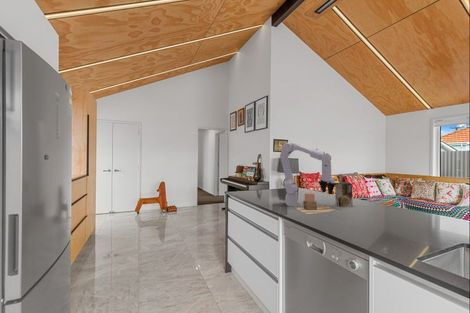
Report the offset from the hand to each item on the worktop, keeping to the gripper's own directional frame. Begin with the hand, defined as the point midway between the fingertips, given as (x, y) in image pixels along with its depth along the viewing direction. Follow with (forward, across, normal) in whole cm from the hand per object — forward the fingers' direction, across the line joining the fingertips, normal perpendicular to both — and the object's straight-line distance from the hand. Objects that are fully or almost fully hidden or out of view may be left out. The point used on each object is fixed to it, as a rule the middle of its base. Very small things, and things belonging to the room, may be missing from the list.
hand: (327, 193), depth 158 cm
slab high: (+7, 0, +12) cm, 14 cm away
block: (+4, 0, +12) cm, 13 cm away
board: (+10, -2, +9) cm, 14 cm away
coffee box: (+11, +2, -13) cm, 17 cm away
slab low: (+9, 0, +12) cm, 15 cm away
